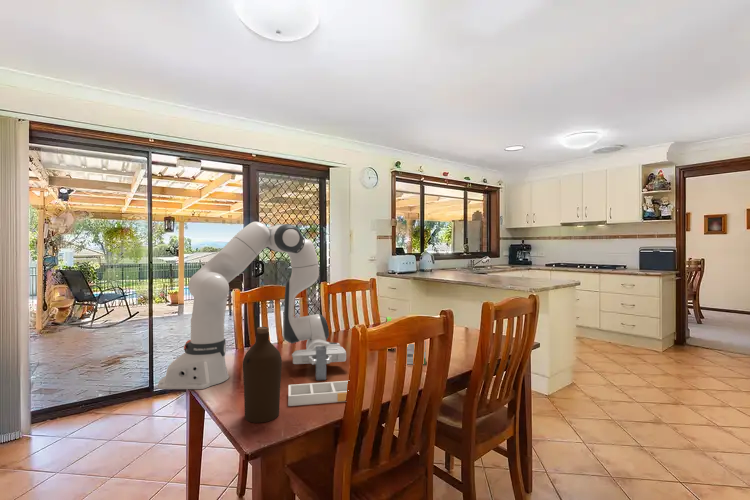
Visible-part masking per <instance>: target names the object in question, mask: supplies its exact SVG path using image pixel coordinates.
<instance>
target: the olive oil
mask: <svg viewBox="0 0 750 500" xmlns="http://www.w3.org/2000/svg"><path fill="white" fill-rule="evenodd" d="M269 330H270V329H269V327H268V326H258V327H257V328H256V341H255V342H254V344H253V345H252V346H251V347H250V348H249V349H248V350H247V352H245V354H244V357H243V361H242V374H243V396H244V397H243V398H244V399H243V400H244V419H245V420H246V421H247V422H250V423H255V424H257V423H258V424H259V423H260V424H261V423H268V422H270V421H273V420H275V419H277V418H278V416H279V414H280V402H281V401H280V400H281V383H282V382H281V379H282V366H283V365H282V364H283V360H282V355H281V353H280V351H279V350H278V348H277V347H275V345H274V344H273V343H272V342H271V341H270V339H269V338H270V332H269Z"/></svg>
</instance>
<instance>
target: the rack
mask: <svg viewBox="0 0 750 500" xmlns="http://www.w3.org/2000/svg"><path fill="white" fill-rule="evenodd" d="M348 381H349V380H340V381H339V380H338V381H327V382H326V381H324V382H323V381H322V382H309V383H299V384H296V383H295V384H288V386H287V387H288V402H287V406H288V407H295V406H308V405H318V404H319V405H321V404H330V403H344V402H346V401H345V399H346V394H347V384H348Z"/></svg>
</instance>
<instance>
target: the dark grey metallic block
mask: <svg viewBox="0 0 750 500" xmlns="http://www.w3.org/2000/svg"><path fill="white" fill-rule="evenodd" d="M315 380H316V381H326V380H327V364H326V347H325V346H316V365H315Z"/></svg>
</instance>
